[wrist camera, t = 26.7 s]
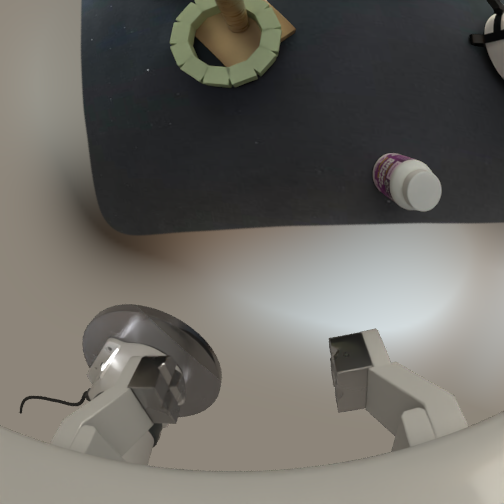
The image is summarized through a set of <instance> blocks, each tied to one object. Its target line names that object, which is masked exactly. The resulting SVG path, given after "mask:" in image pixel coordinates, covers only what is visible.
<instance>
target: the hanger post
mask: <svg viewBox="0 0 504 504" xmlns="http://www.w3.org/2000/svg"><path fill="white" fill-rule="evenodd" d="M263 1H265V2H266V3H268V2H267V1H266V0H263ZM215 2H216V4H217V6H218V8H219V10H220V12H221V13H218V14H216V15H213V16H211V17H208V18H207V19H206V20H205V21H204V22H203V23H202V24H201V25H200V27H199V28H198V29H197V30H196V33H195V37H196V38H197V39H198V40H199V41H200V42H201V43H202V44H204V45H205V46H206V47H207V48H208V49H209V50H210V51H211V52H212V53H213V54H214V55H215V56H216V57H217V58H218V59H219V60H220V61H221V62H222V63H223V65H224V66H225V67H230V66H233V65H235V64H238V63H240V62H243V61H246V60H247V59H248V58H249V57H250V56H251V55H252V54H253V53H254V51H255V50H256V49H257V48H258V47H259V45H260V39H261V31H260V29H259V26H258V24H257V22H256V21H254V20H253V19H251V18H250V17H248V16H247V12H246V8H245V4H244V0H215ZM268 4H269V3H268ZM269 7H272V8H273V10H274V12H275V14H276V16H277V18H278V20H279V23H280V25H281V30H282V34H281V41H280V43H281V42H282V41H283V40H285V39H286V38H288V37H289V36H291V35H292V34H294V33H295V30H296V29H295V28H294V27H293V26H292V25H291V24H290V23H289V22H288V21H287V20H286V19H285V18H284V17H283V16H282V15H281V14H280V13H279V12H278V11H277V10H276V9H275V8H274V7H273V6H272V5H271V4H269Z"/></svg>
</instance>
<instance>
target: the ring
mask: <svg viewBox="0 0 504 504" xmlns="http://www.w3.org/2000/svg"><path fill="white" fill-rule="evenodd" d="M194 1H195V3H196V4H194V3H192V2H191V3H190V4H189V5H188V6H187V7H186V8H185V9H184V10H183V11H182V13H181V14H180V15H179V16H178V17H177V18H176V20H177V21H178V22H174V24H173V29H172V34H171V39H170V44H171V45H173V46H171V47H170V48H171V51H172V53H173V56H174V58H175V60H176V63H177V65H178V66H179V67H181V70H182V71H184V72H185V73H187V74H189V75H190V76H192V77H193V78H194V79H196V80H197V81H199V82H201V83H202V84H206V85H208V86H217V87H227V88H231V87H232V85H233V86H234V87H238V86H240V85H243V84H245V83H248V82H251V81H253V80H256V79H258V77H257V75H256V74H258V75H259V76H260V77H261V76H262V75H263V74H264V73H265V72H266V71H267V69H268V68H269V67H270V66H271V65H272V64H273V63H274V62H275V61H276V56H277V57H278V53H279V47H280V41H281V34H282V30H281V25H280V23H279V20H278V18H277V16H276V14H275V12H274V10H273V8H272V7H269V4H268V3H266V2H265V1H263V0H244V4H245V8H246V12H247V16H248V17H250V18H251V19H253V20H254V21H256V22H257V24H258V26H259V29H260V31H261V39H260V45H259V47H258V48H257V49H256V50H255V51H254V53H253V54H252V55H251V56H250V57H249V58H248V59H247V60H246V61H243V62H240V63H238V64H235V65H233V66H230V67H219V66H209V65H207V64H206V63H204V62H202V61H201V60H199V59H198V56H197V54H196V52H195V50H194V47H193V43H194V38H195V33H196V30H197V29H198V28H199V27H200V25H201V24H202V23H203V22H204V21H205V20H206V19H207V18H208V17H211V16H213V15H216V14H218V13H221V12H220V10H219V8H218V6H217V4H216V2H215V0H194Z"/></svg>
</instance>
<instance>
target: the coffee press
mask: <svg viewBox="0 0 504 504" xmlns="http://www.w3.org/2000/svg"><path fill="white" fill-rule="evenodd" d="M487 2H488V3H489V4H490V5H491V7H492V8H493V9H494V15H492V16H491V17H490V18H489V19H488V21H487V22H486V25H485V31H484V34H483V35H478V34H471V35H469V36H470V42H471V45H474V46H481V47H486V48H487V51H488V54H489V57H490V59H491V61H492V63H493V65H494V67H495V68H496V70H497V71H498V73H499V74H500V76H501V77H502V78H503V79H504V5H503V4H502V3H501V2H500V0H487Z"/></svg>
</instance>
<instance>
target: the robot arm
mask: <svg viewBox="0 0 504 504" xmlns="http://www.w3.org/2000/svg"><path fill="white" fill-rule="evenodd" d="M329 348H330V353H331V358H330V361H331V371H332V378H333V385H334V387H335V396H336V402H337V407H338V412H346V411H352V410H358V409H363V408H366V410H367V411H368V412H369V413H370V414H371V415H372V416H373V417H374V418H376V419H377V420H378V421H379V422H380V423H381V424H382V425H383V426H384V427H385V428H387V429H388V430H389V431H390V432H391V433H392V434H393V435H394V436H395V440H394V444H393V447H392V451H391V452H389V453H385V454H381V455H377V456H372V457H367V458H363V459H358V460H352V461H347V462H342V463H336V464H329V465H322V466H315V467H306V468H297V469H284V470H271V471H270V470H269V471H244V472H243V471H199V470H184V469H172V468H163V467H155V466H148V461H149V458H150V455H151V451H152V448H153V447H154V446H155V445H156V444H157V442H158V440H159V438H160V435H161V430H162V428H165V427H168V426H169V424H171V423H172V424H176V422H177V418H178V415H179V412H180V407H179V405H182V404H183V403H184V401H185V396H184V395H185V382H184V378H183V374H182V372H181V370H180V369H179V367H178V366H177V363H176V362H175V360H174V358H173V357H172V356H170V355H168V356H167V355H165V354H164V353H162V352H161V351H159V350H157V349H155V348H153V347H150V346H147V345H144V344H139V343H126V342H123V341H120V340H118V339H115V338H109V339H108V340H107V341H106V343H105V345H104V346H103V348H102V349H101V351H100V353H99V354H98V356H97V358H96V359H95V361H94V363H93V364H92V366H91V368H90V370H89V371H88V373H87V377H88V379H89V380H90V382H91V383H92V384H93V385H92V387H91V388H89V389H88V391H86V392H84V394H83V396H82V399H81V400H80V402H78V403H69V402H65V401H61V400H57V399H51V398H47V397H42V396H29V397H26V398H25V399H23V401H22V403H21V406H20V413H22V407H23V404H24V403H25V401H26V400H28V399H44V400H48V401H53V402H58V403H62V404H66V405H70V406H79V405H81V404H82V403H83V402H84V400H85V398H86V399H87V400H88V401H90V402H88V403H87V404H85V405H84V406H83V407H81V408H80V409H78V410H77V411H75V412H74V413H72V414H71V415H69V416H68V417H67V418H65V419H64V420H63V421H62V423H61V425H60V427H59V428H58V430H57V432H56V434H55V435H54V437H53V439H52V441H51V443H50V444H49V443H46V442H43V441H40V440H37V439H34V438H31V437H29V436H26V435H23V434H20V433H18V432H15V431H13V430H10V429H8V428H5V427H3V426H1V425H0V504H504V411H503V412H500V413H499V414H496V415H494V416H492V417H490V418H488V419H485V420H483V421H481V422H479V423H476V424H474V425H471V426H468V424H467V422H466V420H465V417H464V415H463V413H462V411H461V409H460V407H459V405H458V403H457V401H456V399H455V397H454V395H453V394H451V393H449V392H448V391H446V390H444V389H442V388H440V387H439V386H437V385H435V384H433V383H432V382H430V381H428V380H426V379H425V378H423V377H421V376H419V375H418V374H416V373H414V372H413V371H411V370H409V369H407V368H406V367H404V366H402V365H400V364H398V363H397V362H393V363H391V361H390V358H389V356H388V354H387V351H386V349H385V346H384V344H383V341H382V339H381V337H380V334H379V332H378V330H377V329H372V330H367V331H362V332H359V333H354V334H349V335H344V336H338V337H333V338H329Z"/></svg>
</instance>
